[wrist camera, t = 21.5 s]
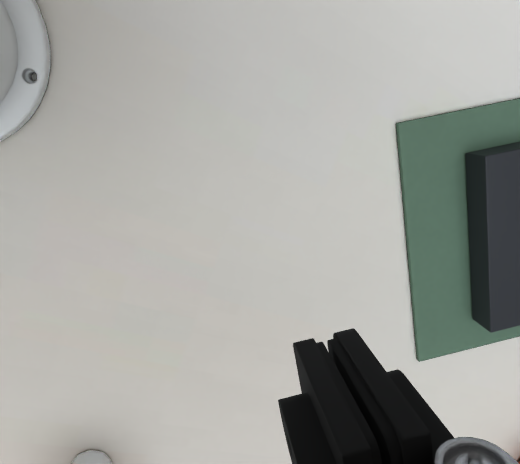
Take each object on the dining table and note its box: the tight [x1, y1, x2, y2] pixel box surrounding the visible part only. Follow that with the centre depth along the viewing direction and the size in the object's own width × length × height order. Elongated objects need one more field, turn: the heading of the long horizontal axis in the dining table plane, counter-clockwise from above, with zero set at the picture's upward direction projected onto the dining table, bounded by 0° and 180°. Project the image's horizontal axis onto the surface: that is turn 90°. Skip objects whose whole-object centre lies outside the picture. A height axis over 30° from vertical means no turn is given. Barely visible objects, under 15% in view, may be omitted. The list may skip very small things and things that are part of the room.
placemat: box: [396, 98, 520, 362], centre depth 35 cm, size 20×13×1 cm, turn 11°
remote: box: [465, 142, 520, 333], centre depth 33 cm, size 14×3×5 cm
